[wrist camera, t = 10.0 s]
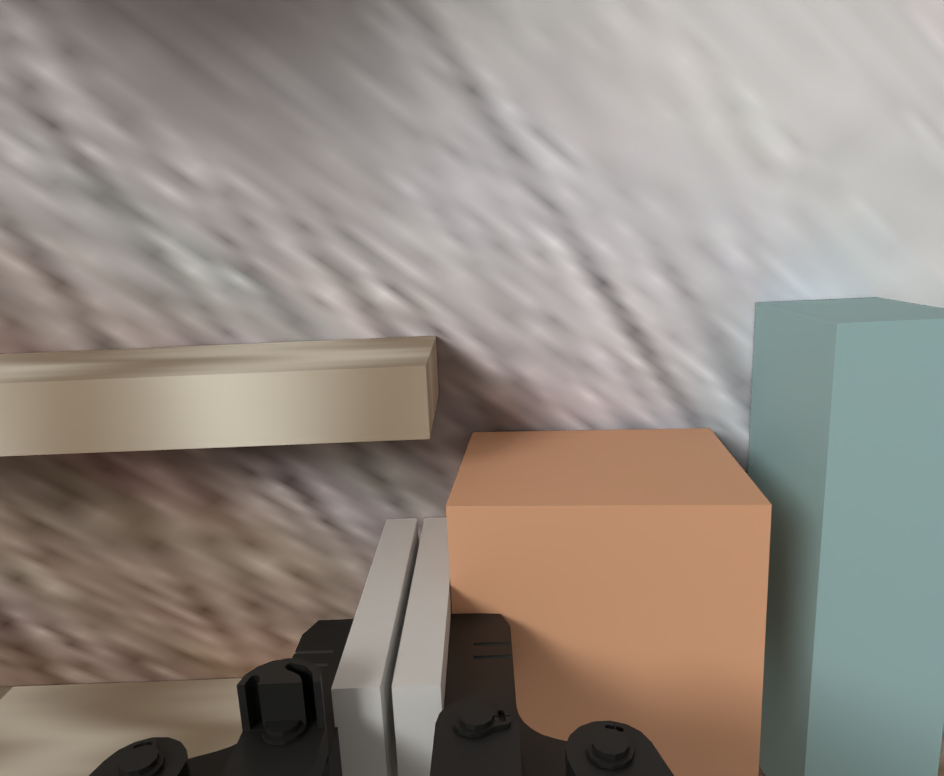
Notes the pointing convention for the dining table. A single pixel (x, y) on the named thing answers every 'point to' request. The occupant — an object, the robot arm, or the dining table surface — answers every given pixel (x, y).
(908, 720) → the stop block
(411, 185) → the dining table surface
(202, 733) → the parallel beige rails
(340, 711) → the robot arm
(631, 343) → the dining table surface
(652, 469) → the block
